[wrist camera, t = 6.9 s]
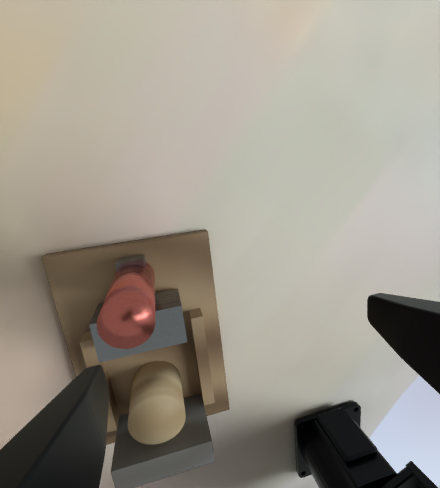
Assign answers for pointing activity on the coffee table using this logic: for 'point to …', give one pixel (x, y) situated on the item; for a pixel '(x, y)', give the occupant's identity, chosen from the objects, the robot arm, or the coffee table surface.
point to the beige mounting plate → (181, 355)
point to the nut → (156, 403)
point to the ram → (136, 313)
